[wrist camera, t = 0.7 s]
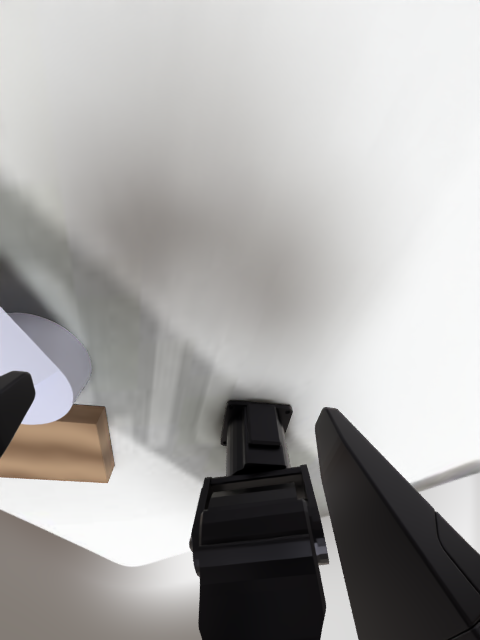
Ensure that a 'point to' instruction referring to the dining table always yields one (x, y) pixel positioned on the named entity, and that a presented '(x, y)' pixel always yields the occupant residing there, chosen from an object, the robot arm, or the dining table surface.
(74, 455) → the brown flat rectangular block
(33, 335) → the wedge on round base
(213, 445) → the dining table surface
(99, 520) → the dining table surface
